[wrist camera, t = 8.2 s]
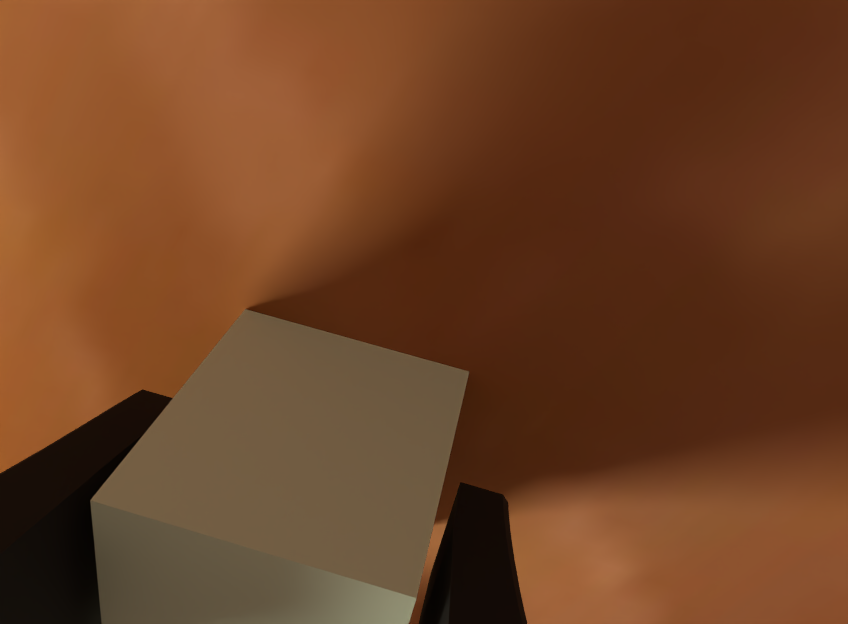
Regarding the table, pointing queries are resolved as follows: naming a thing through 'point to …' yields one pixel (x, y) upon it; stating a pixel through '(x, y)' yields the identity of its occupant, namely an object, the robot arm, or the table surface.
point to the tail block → (281, 485)
